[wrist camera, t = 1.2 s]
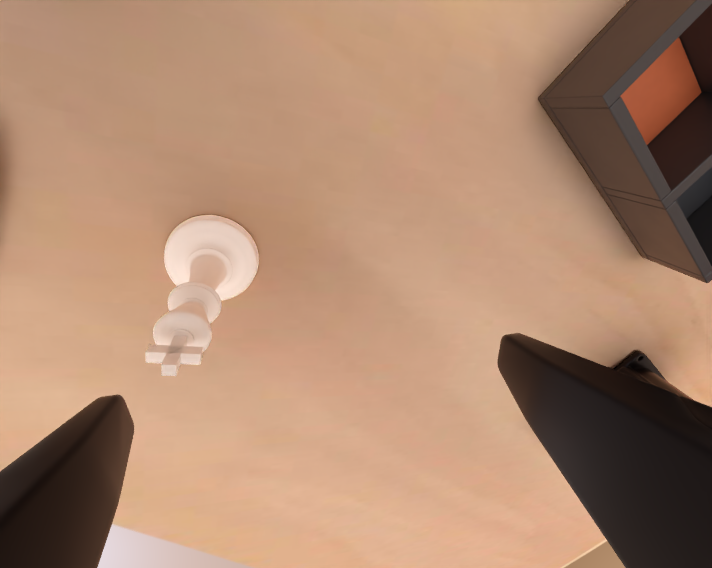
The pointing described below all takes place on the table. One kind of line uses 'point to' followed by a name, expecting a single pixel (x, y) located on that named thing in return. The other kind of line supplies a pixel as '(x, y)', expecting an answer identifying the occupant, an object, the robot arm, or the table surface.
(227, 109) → the table surface
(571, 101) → the compartment tray
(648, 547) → the robot arm
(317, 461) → the table surface
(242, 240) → the chess piece
